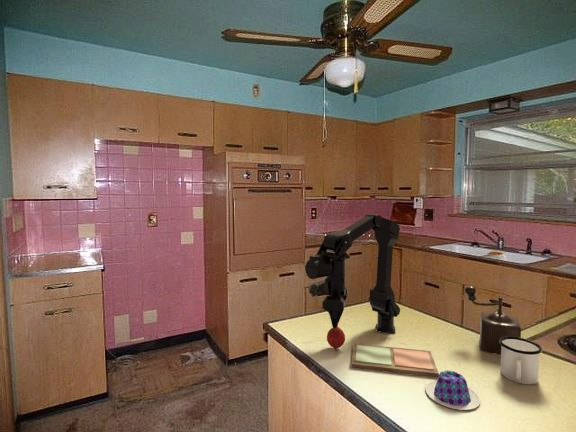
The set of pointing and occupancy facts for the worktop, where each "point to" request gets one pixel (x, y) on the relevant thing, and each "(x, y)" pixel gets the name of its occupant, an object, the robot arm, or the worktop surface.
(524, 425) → the worktop surface
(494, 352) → the brown coffee grinder
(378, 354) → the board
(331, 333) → the onion
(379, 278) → the robot arm
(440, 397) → the pudding
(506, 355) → the mug
